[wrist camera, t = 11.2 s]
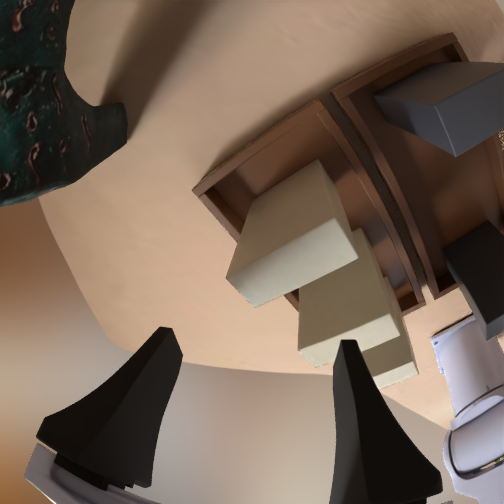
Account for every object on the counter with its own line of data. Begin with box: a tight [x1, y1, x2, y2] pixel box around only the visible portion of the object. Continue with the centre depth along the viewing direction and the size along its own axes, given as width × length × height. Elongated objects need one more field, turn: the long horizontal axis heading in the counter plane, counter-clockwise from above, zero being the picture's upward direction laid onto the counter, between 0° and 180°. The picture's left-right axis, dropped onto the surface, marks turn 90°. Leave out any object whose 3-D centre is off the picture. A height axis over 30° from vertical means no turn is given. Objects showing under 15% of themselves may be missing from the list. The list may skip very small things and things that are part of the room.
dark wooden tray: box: [328, 32, 504, 300], centre depth 14 cm, size 17×9×2 cm, turn 38°
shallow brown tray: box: [192, 98, 426, 316], centre depth 18 cm, size 17×9×2 cm, turn 38°
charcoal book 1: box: [372, 62, 504, 157], centre depth 9 cm, size 2×5×8 cm, turn 128°
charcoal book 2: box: [442, 220, 504, 341], centre depth 13 cm, size 2×5×8 cm, turn 128°
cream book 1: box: [226, 159, 359, 308], centre depth 14 cm, size 2×5×8 cm, turn 128°
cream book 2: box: [298, 228, 401, 368], centre depth 16 cm, size 2×5×8 cm, turn 128°
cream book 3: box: [361, 276, 419, 390], centre depth 18 cm, size 2×5×8 cm, turn 128°
